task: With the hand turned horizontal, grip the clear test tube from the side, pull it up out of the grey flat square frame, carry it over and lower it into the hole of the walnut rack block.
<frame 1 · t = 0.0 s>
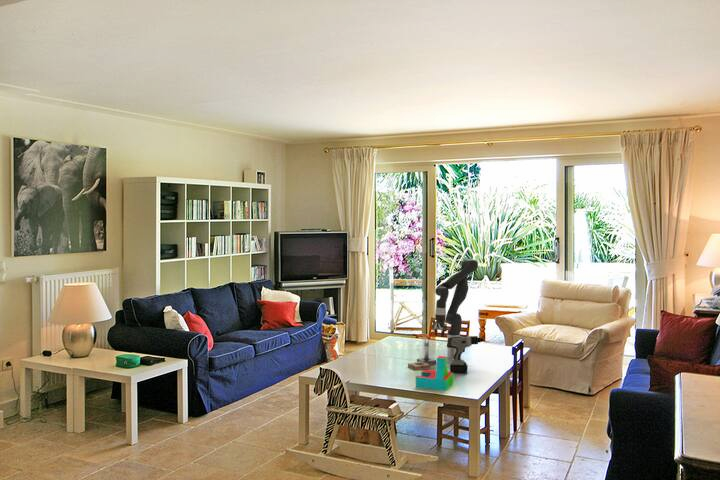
hand: (439, 335, 447), 17 cm above the table, tool pointing down, fingers open, 8 cm apart
cordless drill: (464, 372, 410), on the table
grey flat square frame: (426, 363, 436), on the table
rack block: (419, 367, 423), on the table
building blocks toy: (435, 384, 382), on the table
clear test tube: (426, 351, 436), in the grey flat square frame
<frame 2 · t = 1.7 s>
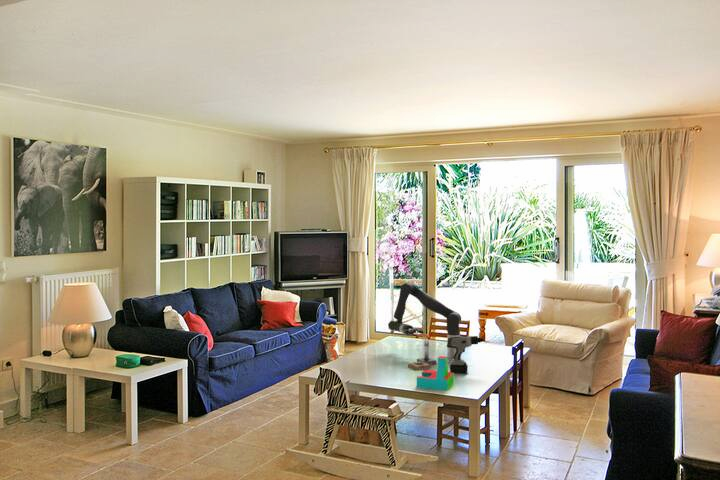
hand: (418, 333, 445), 20 cm above the table, tool horizontal, fingers open, 8 cm apart
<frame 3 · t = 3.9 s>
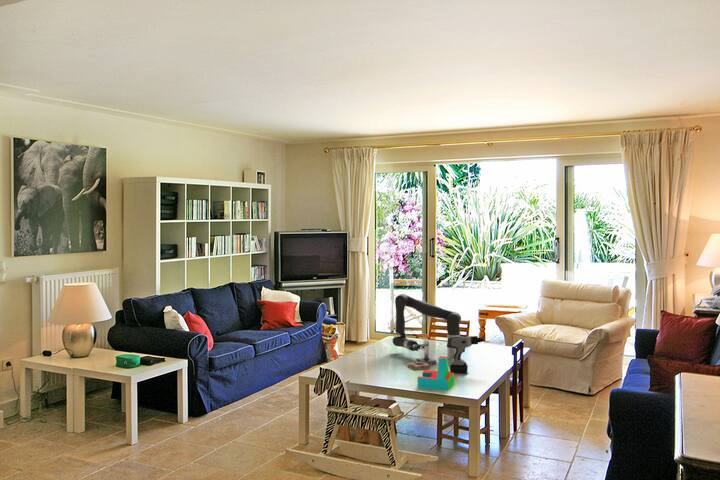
hand: (422, 349, 440), 9 cm above the table, tool horizontal, fingers open, 8 cm apart
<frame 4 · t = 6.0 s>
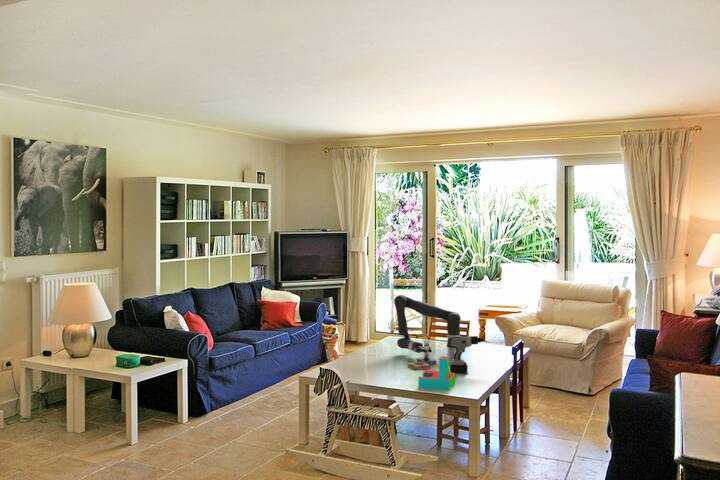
hand: (428, 351, 433), 9 cm above the table, tool horizontal, fingers closed on clear test tube, 3 cm apart
clear test tube: (426, 351, 436), in the grey flat square frame, touching gripper
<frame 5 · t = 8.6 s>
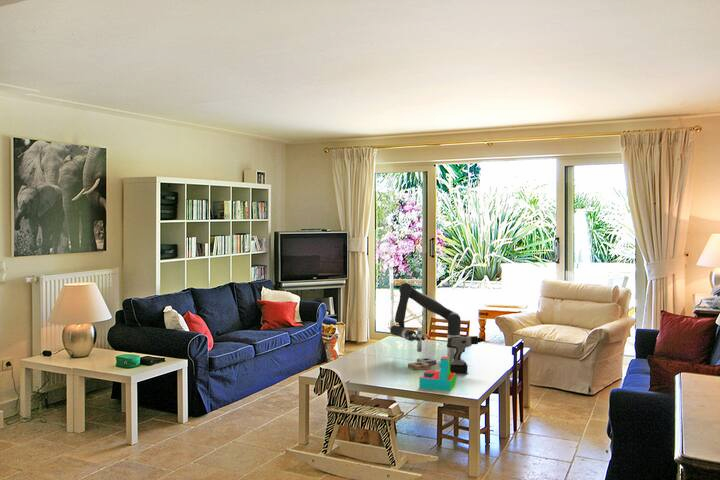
hand: (421, 339, 421), 20 cm above the table, tool horizontal, fingers closed on clear test tube, 3 cm apart
clear test tube: (419, 339, 424), point 19 cm above the table, touching gripper
when the fingers open (10 cm above the table, at t = 11.4 s): clear test tube drops 1 cm, resting in rack block.
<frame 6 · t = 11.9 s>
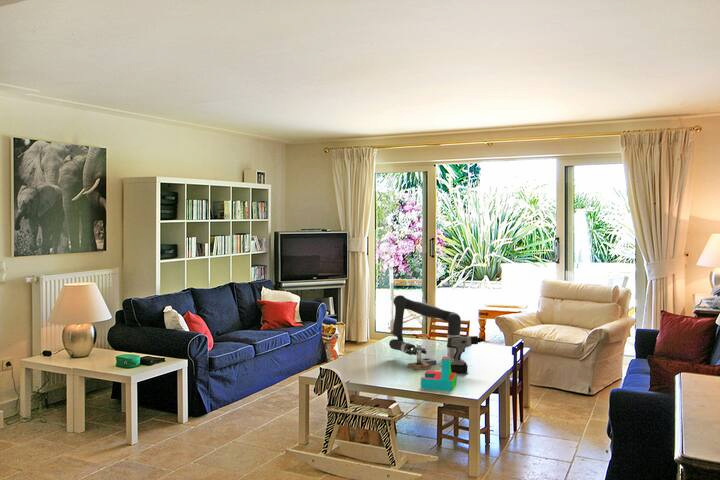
hand: (420, 353, 420), 11 cm above the table, tool horizontal, fingers open, 7 cm apart
clear test tube: (419, 355, 423), in the rack block
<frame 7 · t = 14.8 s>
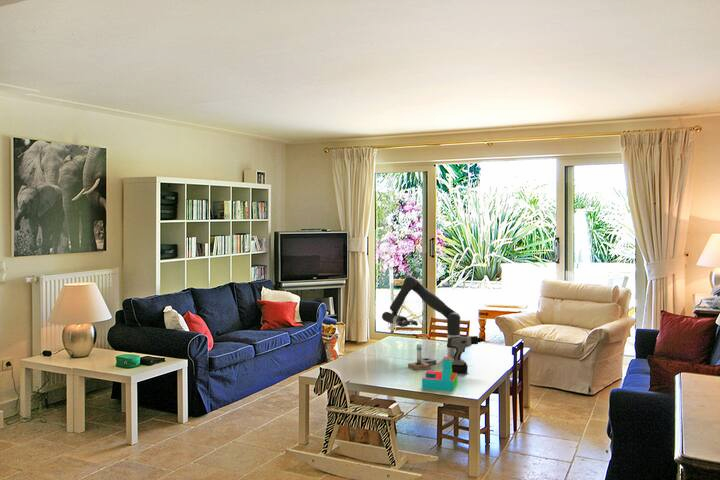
hand: (412, 324, 434), 28 cm above the table, tool horizontal, fingers open, 8 cm apart
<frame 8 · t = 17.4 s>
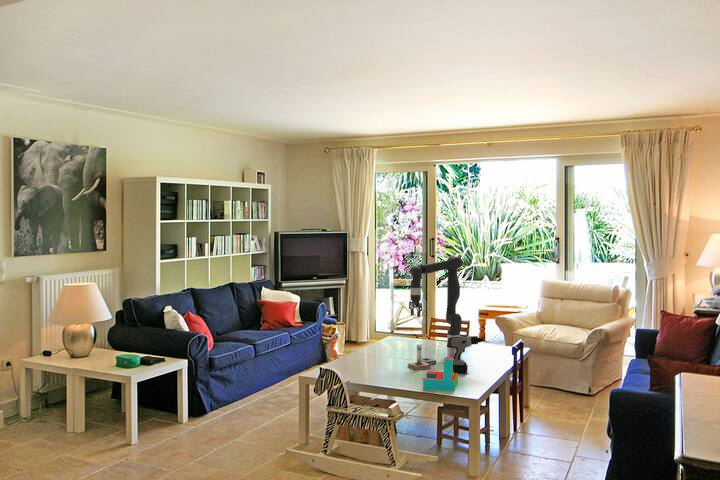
hand: (415, 316, 445), 32 cm above the table, tool pointing down, fingers open, 8 cm apart
at the end: clear test tube 0.1 cm off-centre on the rack block, point 8.0 cm above the rack block's base; clear test tube tilted 0°; the gripper is holding nothing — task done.
